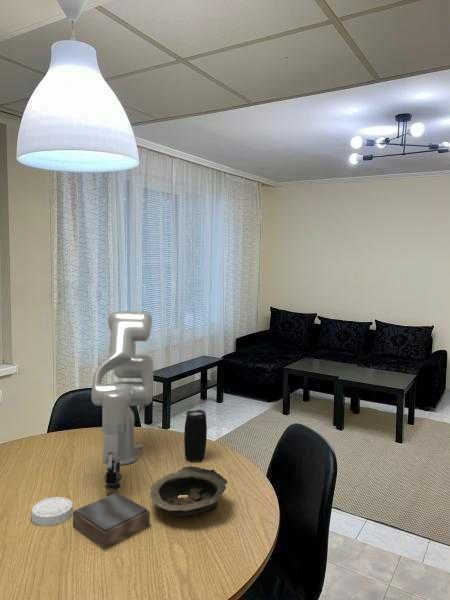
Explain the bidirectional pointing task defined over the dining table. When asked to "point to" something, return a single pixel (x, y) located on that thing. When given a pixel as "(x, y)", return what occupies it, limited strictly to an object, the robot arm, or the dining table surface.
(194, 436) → the portable speaker
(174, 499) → the stone bowl
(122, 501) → the walnut base
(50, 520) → the mooncake
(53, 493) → the dining table surface
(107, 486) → the black chess piece
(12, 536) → the dining table surface
